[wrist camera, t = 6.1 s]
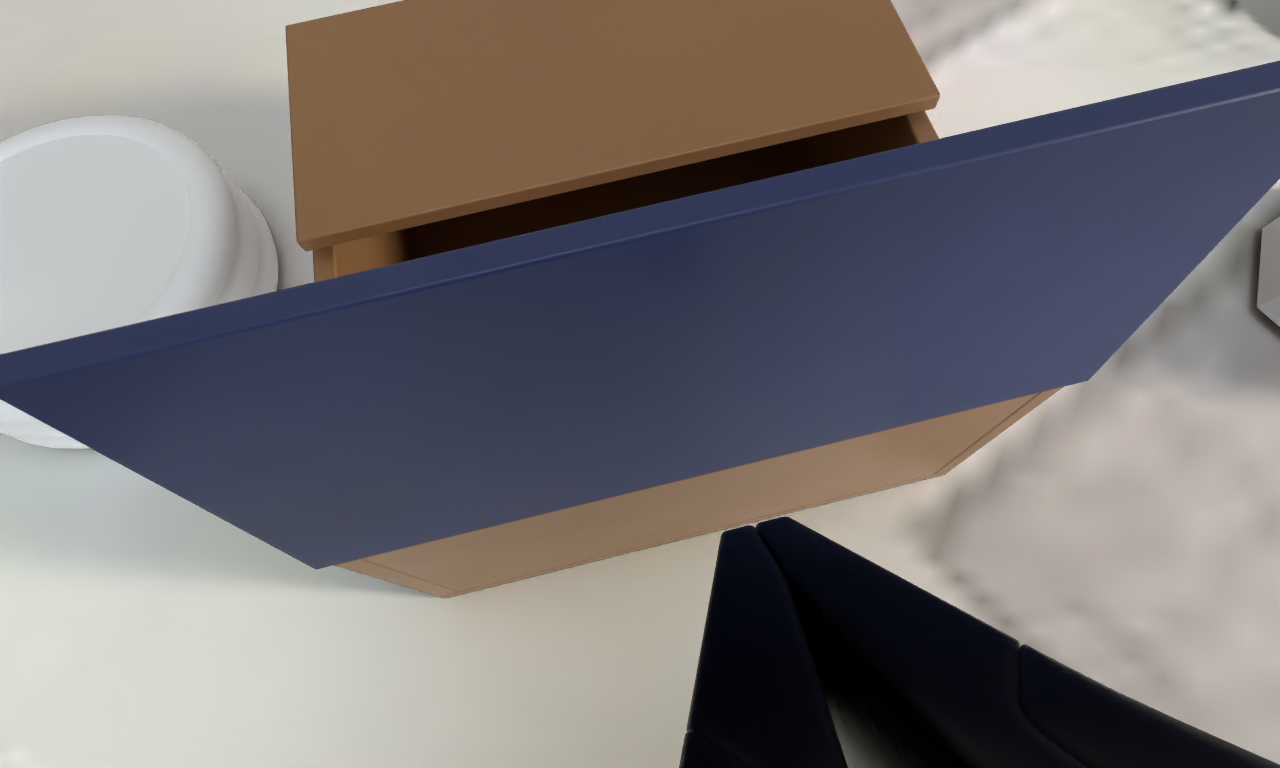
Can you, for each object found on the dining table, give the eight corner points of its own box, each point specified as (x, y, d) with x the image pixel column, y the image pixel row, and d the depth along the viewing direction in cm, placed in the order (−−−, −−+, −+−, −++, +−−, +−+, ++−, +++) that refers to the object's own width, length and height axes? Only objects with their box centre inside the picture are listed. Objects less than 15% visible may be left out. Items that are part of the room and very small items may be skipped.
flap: (1077, 362, 13) (1089, 381, 12) (315, 547, 12) (315, 570, 12) (1362, 39, 7) (1392, 63, 7) (-12, 354, 7) (-22, 390, 6)
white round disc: (-46, 264, 24) (-161, 199, 20) (233, 136, 25) (166, 57, 22) (9, 516, 20) (-120, 487, 17) (330, 351, 22) (267, 294, 18)
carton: (945, 474, 19) (1089, 368, 12) (444, 598, 19) (309, 559, 12) (797, 117, 24) (841, -98, 17) (396, 208, 24) (282, 23, 17)
